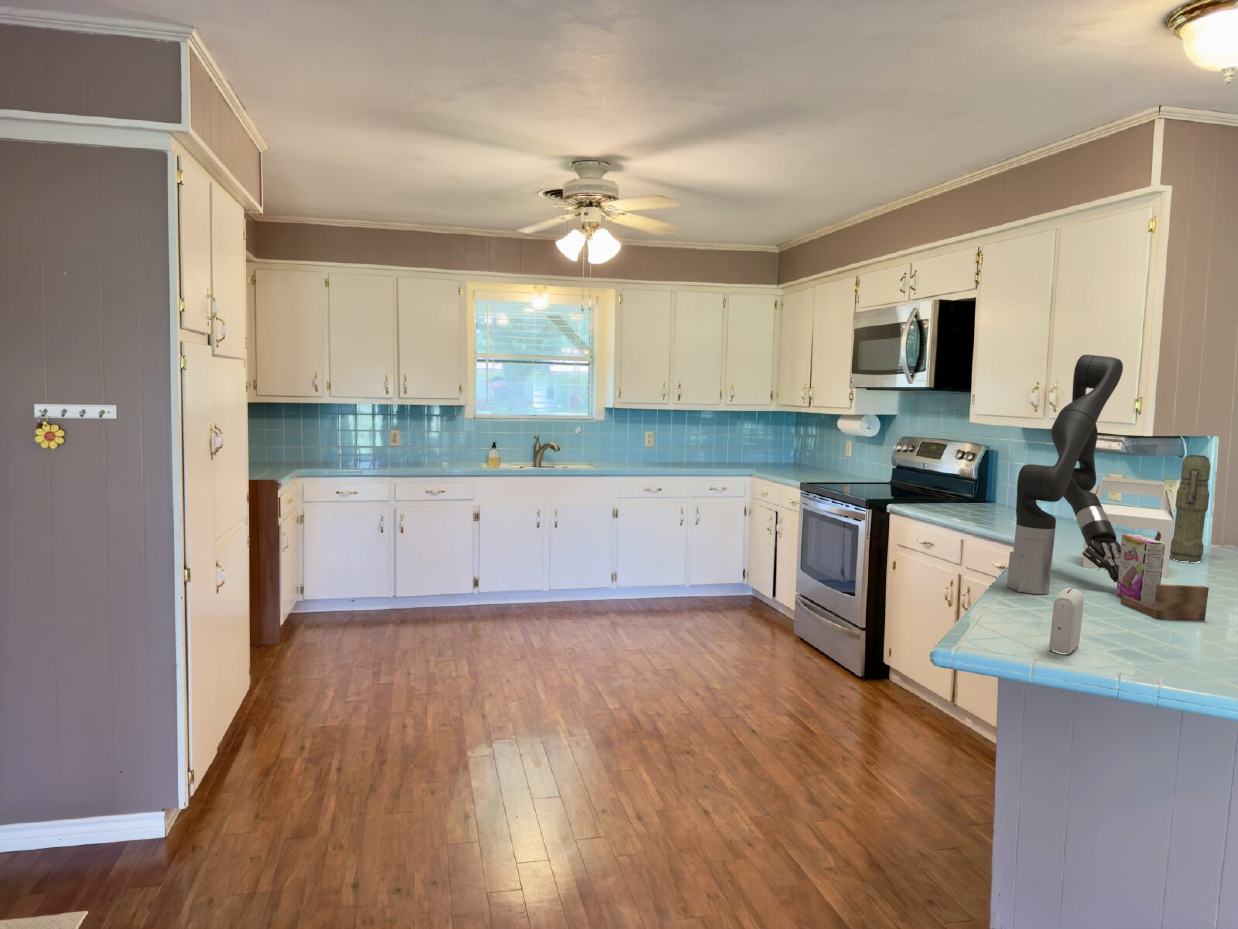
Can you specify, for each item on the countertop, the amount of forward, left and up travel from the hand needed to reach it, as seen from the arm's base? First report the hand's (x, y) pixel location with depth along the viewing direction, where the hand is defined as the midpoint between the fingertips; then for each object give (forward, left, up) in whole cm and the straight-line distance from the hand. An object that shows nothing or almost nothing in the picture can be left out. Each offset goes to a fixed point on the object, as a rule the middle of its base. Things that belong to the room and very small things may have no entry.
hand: (1119, 580), depth 215 cm
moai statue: (+57, +53, -4) cm, 78 cm away
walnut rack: (0, -17, -4) cm, 17 cm away
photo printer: (-44, -49, -4) cm, 66 cm away
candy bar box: (+1, -6, -4) cm, 7 cm away
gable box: (+24, +35, -4) cm, 43 cm away
